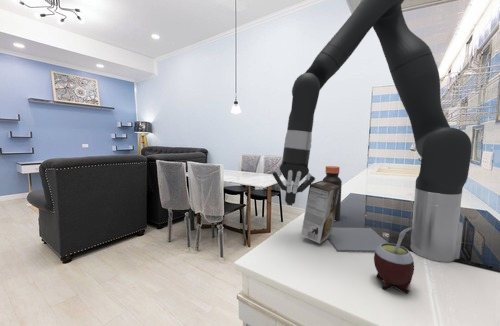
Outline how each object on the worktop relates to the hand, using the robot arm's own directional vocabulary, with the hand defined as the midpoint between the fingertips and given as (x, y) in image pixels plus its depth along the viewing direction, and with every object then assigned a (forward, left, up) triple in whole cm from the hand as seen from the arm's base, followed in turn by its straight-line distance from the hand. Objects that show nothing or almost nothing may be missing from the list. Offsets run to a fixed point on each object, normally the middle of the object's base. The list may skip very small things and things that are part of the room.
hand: (289, 204), depth 66 cm
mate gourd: (-19, +20, -11) cm, 30 cm away
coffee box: (-8, -1, -10) cm, 13 cm away
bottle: (-18, -19, -11) cm, 29 cm away
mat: (-20, -1, -11) cm, 23 cm away
